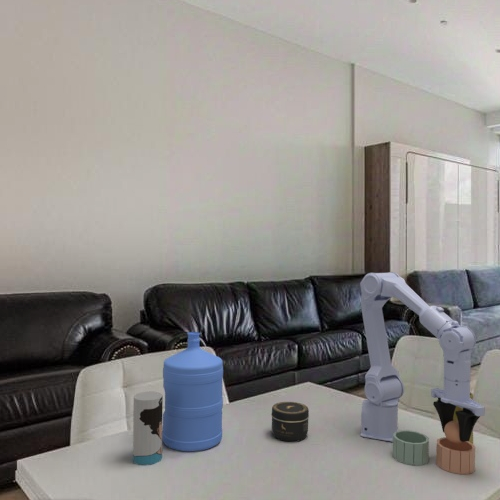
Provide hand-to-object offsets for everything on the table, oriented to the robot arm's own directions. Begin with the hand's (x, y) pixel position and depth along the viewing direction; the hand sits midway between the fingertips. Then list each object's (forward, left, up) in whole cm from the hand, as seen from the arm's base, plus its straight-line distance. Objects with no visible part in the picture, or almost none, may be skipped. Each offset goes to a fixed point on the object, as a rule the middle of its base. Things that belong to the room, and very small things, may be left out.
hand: (455, 436), depth 112 cm
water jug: (-63, -14, -7) cm, 65 cm away
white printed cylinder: (-67, -28, -7) cm, 73 cm away
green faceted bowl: (-10, 0, -7) cm, 12 cm away
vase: (+1, +11, -7) cm, 13 cm away
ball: (0, 0, +1) cm, 1 cm away
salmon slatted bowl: (0, 0, -7) cm, 7 cm away
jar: (-41, 0, -7) cm, 42 cm away
